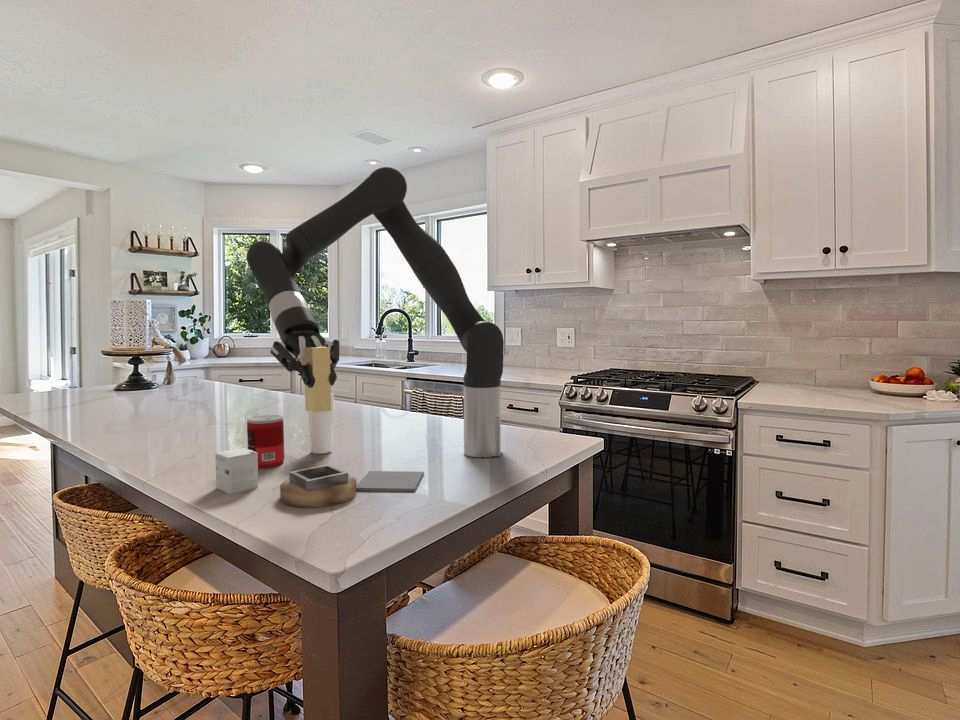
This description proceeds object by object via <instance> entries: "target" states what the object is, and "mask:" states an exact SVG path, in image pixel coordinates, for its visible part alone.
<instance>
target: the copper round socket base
mask: <svg viewBox="0 0 960 720" xmlns="http://www.w3.org/2000/svg"><path fill="white" fill-rule="evenodd" d="M288 473H289V475H288V476H289V478H288V479H286V480H284V481H283V482H281V483H280V484H279V485H280V486H279V491H280V492H279V497H280V502H281V503H282V504H283V505H286V506H289V507H293V508H302V509H303V508H304V509H307V508H308V509H313V507H317V508H324V507H323V506H326V507H330V506H331V505H332V506H335V504H336V505H339V504H338V503H340V504H342V503H341V502H343V503H345V502H344V501H346V502H348V501H350V500H352V499H354V497H356V495H357V492H358V491H356V485H357V478H356V477H355V476H354V475H351V474H349V472H348V471H345V470H343V469H341V468H338V467H336V466H333V465H331V464H324V465H319V466H313V467H308V468H303V469H299V470H293V471H289V472H288ZM351 498H352V499H351ZM349 499H350V500H349ZM347 500H348V501H347Z"/></svg>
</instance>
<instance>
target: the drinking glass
mask: <svg viewBox="0 0 960 720" xmlns="http://www.w3.org/2000/svg"><path fill="white" fill-rule="evenodd" d="M306 416H307V424H308V425H307V426H308V432H309V440H310V441H309V442H310V452H311V453H312V454H316V455H324V454H330V453H331V452H333V437H334V424H335V423H334V422H335V394H334V392H331V411H324V412H316V413H313V412H309V411H306Z"/></svg>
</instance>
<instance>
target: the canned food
mask: <svg viewBox="0 0 960 720" xmlns="http://www.w3.org/2000/svg"><path fill="white" fill-rule="evenodd" d="M284 427H285V425H284V416H283V415H280V414H265V415H263V414H261V415H256V416H254V415H253V416H250V417H248V418H247V419H246V436H247V449H248V450H252V451H254V452H257V453H258V469H268V468H274V467H279V466H281V465H283V463H284V461H285V433H284V431H285V430H284V429H285V428H284Z"/></svg>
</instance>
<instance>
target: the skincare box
mask: <svg viewBox="0 0 960 720" xmlns="http://www.w3.org/2000/svg"><path fill="white" fill-rule="evenodd" d="M215 487H216V489H218V490H220V491H222V492H224V493H226V494H228V495H232V494H237V493H240V492H245V491H250V490H254V489H256V488H259V468H258V453H257V452H254V451H252V450H248V448H245V447H241V448H236V449H231V450H224V451H217V452H215Z"/></svg>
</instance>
